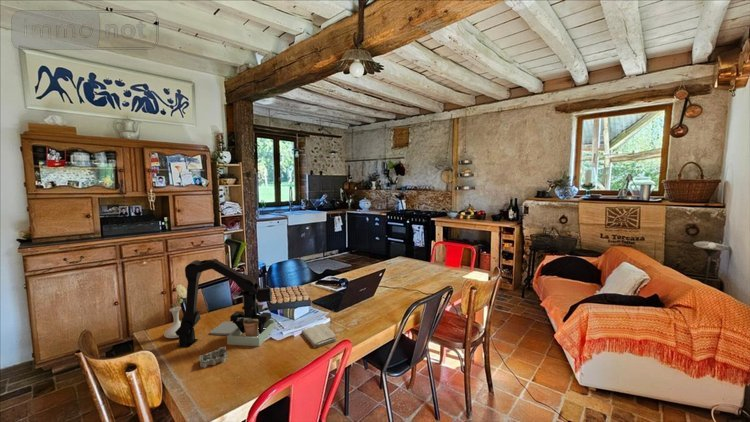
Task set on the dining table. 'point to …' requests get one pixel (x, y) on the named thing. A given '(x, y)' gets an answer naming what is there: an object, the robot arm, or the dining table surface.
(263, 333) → the frame
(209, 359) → the egg carton
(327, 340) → the washcloth
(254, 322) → the terracotta pot
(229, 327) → the slate tile
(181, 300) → the flower in vase
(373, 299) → the dining table surface
